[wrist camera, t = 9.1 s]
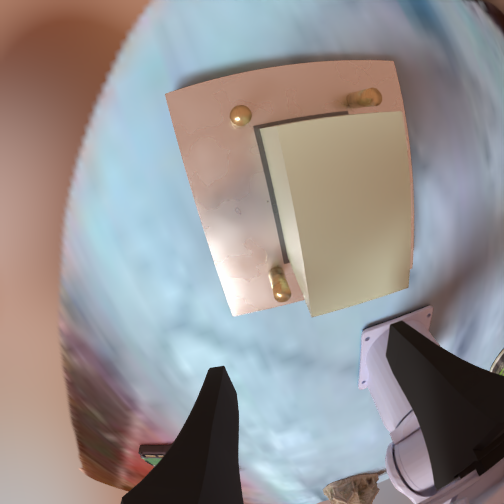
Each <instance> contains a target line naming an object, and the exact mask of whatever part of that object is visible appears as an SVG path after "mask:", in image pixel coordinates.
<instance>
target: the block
mask: <svg viewBox="0 0 504 504" xmlns="http://www.w3.org/2000/svg"><path fill="white" fill-rule="evenodd" d="M260 132H261V137H262V141H263V145H264V149H265V153H266V158H267V162H268V166H269V171H270V175H271V180H272V184H273V189H274V193H275V198H276V202H277V207H278V212H279V217H280V221H281V226H282V231H283V236H284V241H285V246H286V251H287V256H288V259H289V262H290V264H291V267H292V269H293V272H294V274H295V277H296V279H297V281H298V284H299V286H300V289H301V291H302V294H303V296H304V299H305V302H306V304H307V307H308V309H309V312H310V314H311V317H315V316H319V315H322V314H326V313H329V312H333V311H337V310H340V309H343V308H347V307H350V306H354V305H357V304H360V303H363V302H367V301H370V300H373V299H376V298H379V297H382V296H385V295H388V294H391V293H394V292H397V291H400V290H403V289H406V288H408V285H409V273H410V256H411V191H410V174H409V162H408V152H407V144H406V136H405V129H404V122H403V116H402V111H396V112H374V113H360V114H349V115H339V116H331V117H324V118H316V119H310V120H303V121H297V122H292V123H286V124H281V125H275V126H270V127H266V128H261V129H260Z"/></svg>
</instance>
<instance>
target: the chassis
mask: <svg viewBox="0 0 504 504" xmlns="http://www.w3.org/2000/svg"><path fill="white" fill-rule="evenodd" d="M165 96H166V100H167V104H168V108H169V111H170V115H171V119H172V123H173V127H174V130H175V134H176V138H177V141H178V145H179V148H180V152H181V156H182V159H183V163H184V166H185V170H186V173H187V176H188V180H189V183H190V187H191V190H192V193H193V197H194V200H195V203H196V206H197V210H198V213H199V216H200V219H201V223H202V226H203V229H204V232H205V235H206V238H207V241H208V245H209V248H210V251H211V254H212V257H213V260H214V263H215V266H216V269H217V272H218V275H219V278H220V281H221V284H222V287H223V289H224V292H225V295H226V298H227V301H228V304H229V307H230V310H231V312H232V315H233V317H234V316H238V315H243V314H247V313H252V312H256V311H261V310H265V309H269V308H274V307H278V306H282V305H286V304H290V303H294V302H298V301H302V300H305V299H304V296H303V294H302V291H301V289H300V286H299V284H298V281H297V279H296V277H295V274H294V272H293V269H292V267H291V264H290V262H289V259H288V256H287V251H286V246H285V241H284V236H283V231H282V226H281V221H280V217H279V212H278V207H277V202H276V198H275V193H274V189H273V184H272V180H271V175H270V171H269V166H268V162H267V158H266V153H265V149H264V145H263V141H262V137H261V132H260V129H261V128H266V127H270V126H275V125H281V124H286V123H292V122H297V121H303V120H310V119H316V118H324V117H331V116H339V115H349V114H360V113H374V112H396V111H402V116H403V122H404V129H405V136H406V144H407V152H408V162H409V174H410V191H411V256H410V269H411V268H412V265H413V246H414V196H413V177H412V164H411V153H410V144H409V136H408V129H407V122H406V116H405V110H404V105H403V99H402V94H401V90H400V85H399V81H398V76H397V72H396V68H395V64H394V61H384V60H340V61H322V62H310V63H300V64H291V65H283V66H276V67H270V68H264V69H258V70H253V71H248V72H243V73H238V74H233V75H229V76H225V77H221V78H217V79H213V80H209V81H205V82H202V83H198V84H195V85H191V86H188V87H185V88H181V89H178V90H175V91H172V92H169V93H166V94H165Z"/></svg>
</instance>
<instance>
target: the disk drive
mask: <svg viewBox="0 0 504 504" xmlns="http://www.w3.org/2000/svg"><path fill="white" fill-rule="evenodd" d="M170 447H171V445H140V448H139V454H140V457H141V458H142V459H144V460H145V461H146V462H147V463H149V464H151V465H153V466H154V467H155V466H156V465H157V464H158V462H159V461H160V460H161V459H162V457H163V456H164V455H165V454H166V452H167V451H168V450H169V448H170Z"/></svg>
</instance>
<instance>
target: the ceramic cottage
mask: <svg viewBox="0 0 504 504" xmlns="http://www.w3.org/2000/svg"><path fill="white" fill-rule="evenodd" d="M378 479H379V478H378V474H377V473H374V474H366V475H356V476H352V477H348V478H346V479H343V480H340V481H335V482H332V483H330V484H328V485H327V486H326V487H325V488H324V489H323V492H324V495H326V496H327V497H328V498H329V500H330V501H331V504H372V502H373V499H374V498H375V496H376V495H377V493H378V492H379V488H377V483H376V482H377V481H378Z"/></svg>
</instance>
